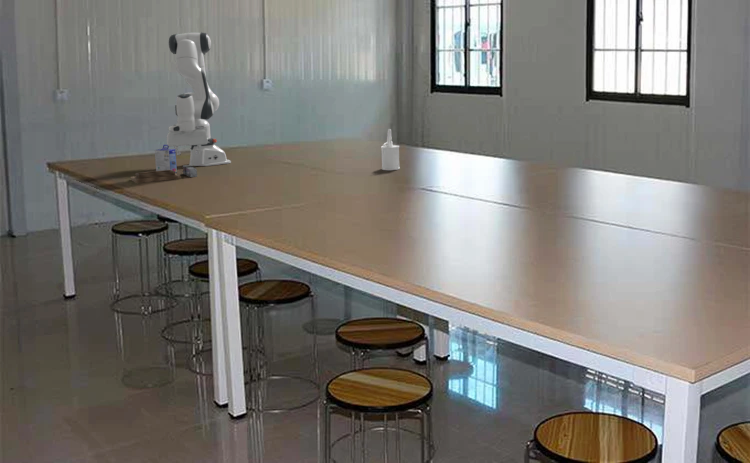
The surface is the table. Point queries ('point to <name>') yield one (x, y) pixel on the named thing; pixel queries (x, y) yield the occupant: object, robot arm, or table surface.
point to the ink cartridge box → (165, 159)
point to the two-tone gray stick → (189, 171)
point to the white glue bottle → (390, 154)
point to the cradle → (155, 176)
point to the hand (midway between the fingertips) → (188, 154)
